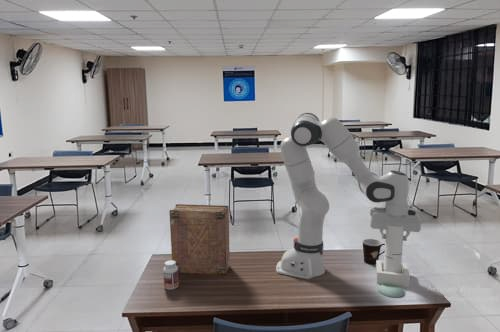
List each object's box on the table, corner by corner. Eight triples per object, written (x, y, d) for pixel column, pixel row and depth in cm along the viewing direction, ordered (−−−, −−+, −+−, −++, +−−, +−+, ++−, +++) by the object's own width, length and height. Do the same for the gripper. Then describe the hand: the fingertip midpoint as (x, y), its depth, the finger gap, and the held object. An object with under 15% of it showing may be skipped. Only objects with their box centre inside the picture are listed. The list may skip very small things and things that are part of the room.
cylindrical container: (401, 282, 170) (405, 227, 166) (384, 281, 172) (387, 226, 167) (398, 275, 177) (402, 221, 172) (382, 273, 179) (385, 221, 174)
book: (172, 272, 182) (168, 210, 177) (178, 263, 191) (175, 204, 186) (226, 275, 179) (224, 211, 173) (230, 266, 188) (228, 205, 182)
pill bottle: (176, 281, 174) (175, 258, 171) (180, 288, 168) (179, 263, 166) (162, 284, 171) (161, 261, 169) (166, 291, 166) (164, 266, 163)
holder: (376, 283, 170) (377, 272, 169) (375, 270, 182) (376, 259, 181) (409, 287, 167) (409, 276, 166) (405, 273, 179) (406, 262, 178)
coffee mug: (361, 264, 188) (362, 244, 186) (361, 257, 196) (362, 238, 194) (387, 267, 185) (388, 247, 183) (386, 259, 193) (387, 240, 191)
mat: (378, 295, 160) (378, 294, 160) (377, 284, 170) (378, 282, 169) (405, 299, 157) (405, 297, 157) (402, 286, 167) (402, 285, 167)
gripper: (370, 209, 168) (369, 239, 171) (422, 212, 163) (420, 244, 165) (370, 204, 174) (368, 234, 177) (420, 208, 169) (418, 238, 171)
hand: (394, 239), depth 171 cm, fingers closed on cylindrical container, 7 cm apart
